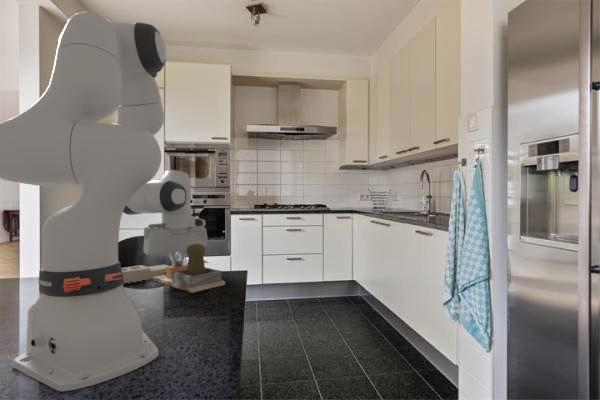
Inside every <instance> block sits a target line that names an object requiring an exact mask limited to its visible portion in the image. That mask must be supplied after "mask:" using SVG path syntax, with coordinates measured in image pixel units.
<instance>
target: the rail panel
mask: <svg viewBox="0 0 600 400" xmlns="http://www.w3.org/2000/svg"><path fill="white" fill-rule="evenodd" d="M205 272H206V273H205V274H200V275H195V276H191V275H187V270H182V271H176V272H173V278H170V277H167V276H166V272H164V275H162V276H157V277H153V279H152V281H153V280H154V281H153V282H157V281H158V282H157V283H160V282H161V283H160V284H163V283H164V284H163V285H166V286H170V287H173V288H176V289H178V290H182V291H185V292H188V293H191V294H192V293H197V292H201V291H204V290H208V289H212V288H217V287H221V286H225V285H226V281H225V280H222V270H218V269H214V268H209V267H205Z"/></svg>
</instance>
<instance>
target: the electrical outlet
mask: <svg viewBox="0 0 600 400" xmlns="http://www.w3.org/2000/svg"><path fill="white" fill-rule="evenodd" d="M167 266H169V265H167V264H158V265H153V266H152V265H150V266H145V265H133V266H126V267H121V268H122V270H123V279H124V283H123V285H126V284H125V283H128V284H131V283H130V282H133V283H138V282H137V281H139V282H143V281H142V280H145V281H148V279H151V280H153V277H157V276H162V275H164V272H166V267H167Z"/></svg>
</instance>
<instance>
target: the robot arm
mask: <svg viewBox="0 0 600 400" xmlns="http://www.w3.org/2000/svg"><path fill="white" fill-rule="evenodd" d="M57 41H58V44H57V48H56V52H55V53H56V54H55V59H54V65H53V69H52V74H51V78H50V80H49V84H48V86H47V88H46V89H45V90H44V91H45V92H44V93H43V94H42V95H41V96H40V97H39V98H38V100H36V102H34V104H32V105H31V106H29V107H28V108H27V109H26V110H24V111H23V112H21V113H19V114H18V115H16V116H14V117H11V118H9V119H6V120H4V121H2V122H1V121H0V179H1V180H3V181H6V182H7V181H9V182H13V183H19V184H25V185H31V186H40V187H43V186H45V187H46V186H52V187H53V186H61V187H63V186H67V187H68V186H69V187H70V186H76V187H77V186H78V187H79V186H80V187H82V193H81V196H80V198H79V199H78V200H77V202H75V203H73V204H71V205H68V206H65V207H64V208H61V209H59V210H57V211H56V212H54V213H52V214H51V215H49V217H47V219H46V220H45V221H44V223H43V225H42V228H41V255H42V256H41V259H42V261H41V262H42V263H41V264H42V265H41V266H42V267H41V269H40V270H39V271H38V272H39V273H38V274H39V275H38V279H37V281H38V282H37V283H38V291H39V293H41V294H40V296H39V297H38V299H37V300H36V301H35V302H34V303H33V304H31V306H30V307H29V308H28V309H27V321H26V322H27V324H26V325H27V326H26V327H27V328H26V352H24V353H22V354H21V355H19V356H17V357H15V358H14V359H13V363H12V368H13V369H16V370H18V371H20V372H21V373H23V374H25V375H27V376H29V377H30V378H32V379H35V380H37V381H38V382H40V383H43V384H44V385H46V386H48V387H51V389H54V390H55V391H58V392H67V391H74V390H79V389H83V388H86V387H91V386H95V385H98V384H101V383H104V382H107V381H109V380H111V379H115V378H117V377H120V376H122V375H125V374H127V373H130V372H132V371H135V370H138V369H139V368H141V367H143V366H145V365H147V364H149V363H151V362H152V361H154V360H155V359H156V358H157V357H158V356H159V355H160V353H159V349H158V347H157V345H156V344H155V343H154V342H153V341H152V340H151V339H150V337H149V336H148V335H147V334H146V332H145V331H144V330H143V324H142V323H144V322H146V319H147V313H146V310H145V308H138V309H137V308H136V307H135V305H136V301H135V298H133V297H132V298H130V296H129V294H128V292H127V290H126V289H125V287H124V284H123V283H124V279H123V270H122V268H123V267H122V265H121V264H122V263H121V262H120V261H119V240H120V239H119V237H120V235H119V234H120V224H121V220H122V215H123V214H125V215H128V216H131V215H142V214H161V222H159V223H150V224H148V225H147V226H145V227H144V229H143V237H144V240H143V253H144V254H145V255H146V256H157V255H158V256H159V255H165V254H167V256H168V257H169V259H170V261H171V266H174V267H175V266H180V265H183V264H184V259H185V257H186V256H187V248H188V246H189V245H193V244H200V245H203V246H204V247H205V248H206V247H207V245H208V233H207V229H206V227H205V226H206V220H205V219H202V218H199V217H196V216H192V209H191V200H192V191H191V190H192V189H191V180H190V176H189V174H188V173H187V172H186V171H183V170H176V169H167V170H165V171H164V172H163V174H162V176H161V177H160V178H158V179H154V180H152V179H153V178H155V176H156V175H157V173H158V172H159V169H160V168H161V164H162V151H161V147H160V145H159V142H158V141H157V138H155V135H156V134H157V133H159V131H161V129H162V128H163V125H164V122H165V113H164V108H163V103H162V97H161V93H160V90H159V87H158V84H157V80H156V77H157V76H158V73H159V72H161V71H162V70H163V68H164V66H165V64H166V58H167V57H166V56H167V49H166V44H165V41H164V39H163V37H162V36H161V33H160V31H159V30H158V28H156V27H155V26H154V25H153V24H149V23H145V22H136V23H131V22H129V23H128V22H111V21H110V20H109V19H107V18H106V17H104V16H102V15H100V14H98V13H96V12H90V11H81V12H77V13H75V14H73V15H72V16H71V17H70V18H68V20H67V21H66V24H65V25H64V27H63V29H62V31H61V32H60V34H59V37H58V40H57ZM116 111H117V121H116V123H109V122H108V123H107V122H99V121H102V120H104V119H106V118H107V117H110V116H111V115H112V114H114V113H115V112H116ZM176 253H178V254H179V257H178V258H177V259H176V257H175V256H176Z"/></svg>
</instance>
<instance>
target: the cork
mask: <svg viewBox="0 0 600 400" xmlns="http://www.w3.org/2000/svg"><path fill="white" fill-rule="evenodd" d="M205 251H206V247H204V246H203V245H200V244H193V245H189V246H188V248H187V250H186V256H188V260H187V265H188V266H187V275H191V276H195V275H200V274H205V273H206V272H205V261H204V260H205V259H204V254H205V253H206V252H205Z"/></svg>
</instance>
